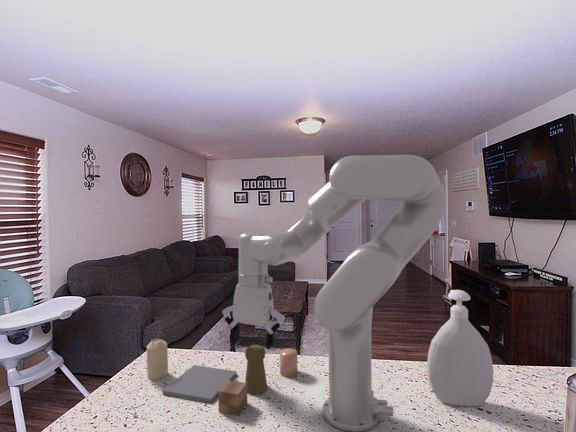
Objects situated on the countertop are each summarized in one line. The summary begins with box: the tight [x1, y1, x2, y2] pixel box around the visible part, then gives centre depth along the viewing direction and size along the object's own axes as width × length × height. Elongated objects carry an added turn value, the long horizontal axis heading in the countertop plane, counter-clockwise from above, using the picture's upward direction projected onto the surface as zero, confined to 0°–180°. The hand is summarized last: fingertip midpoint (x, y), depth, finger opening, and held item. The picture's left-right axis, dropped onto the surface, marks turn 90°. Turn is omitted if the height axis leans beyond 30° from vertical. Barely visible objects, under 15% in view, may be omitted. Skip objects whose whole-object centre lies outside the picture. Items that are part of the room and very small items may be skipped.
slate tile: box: [162, 364, 238, 404], centre depth 88 cm, size 14×14×1 cm
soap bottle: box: [426, 289, 494, 408], centre depth 79 cm, size 14×8×27 cm, turn 79°
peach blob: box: [279, 347, 299, 378], centre depth 93 cm, size 5×5×6 cm
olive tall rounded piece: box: [244, 344, 268, 396], centre depth 85 cm, size 6×6×11 cm
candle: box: [146, 338, 169, 380], centre depth 93 cm, size 6×6×10 cm
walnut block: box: [217, 380, 248, 416], centre depth 78 cm, size 5×5×5 cm
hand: (252, 344), depth 86 cm, fingers open, 9 cm apart
